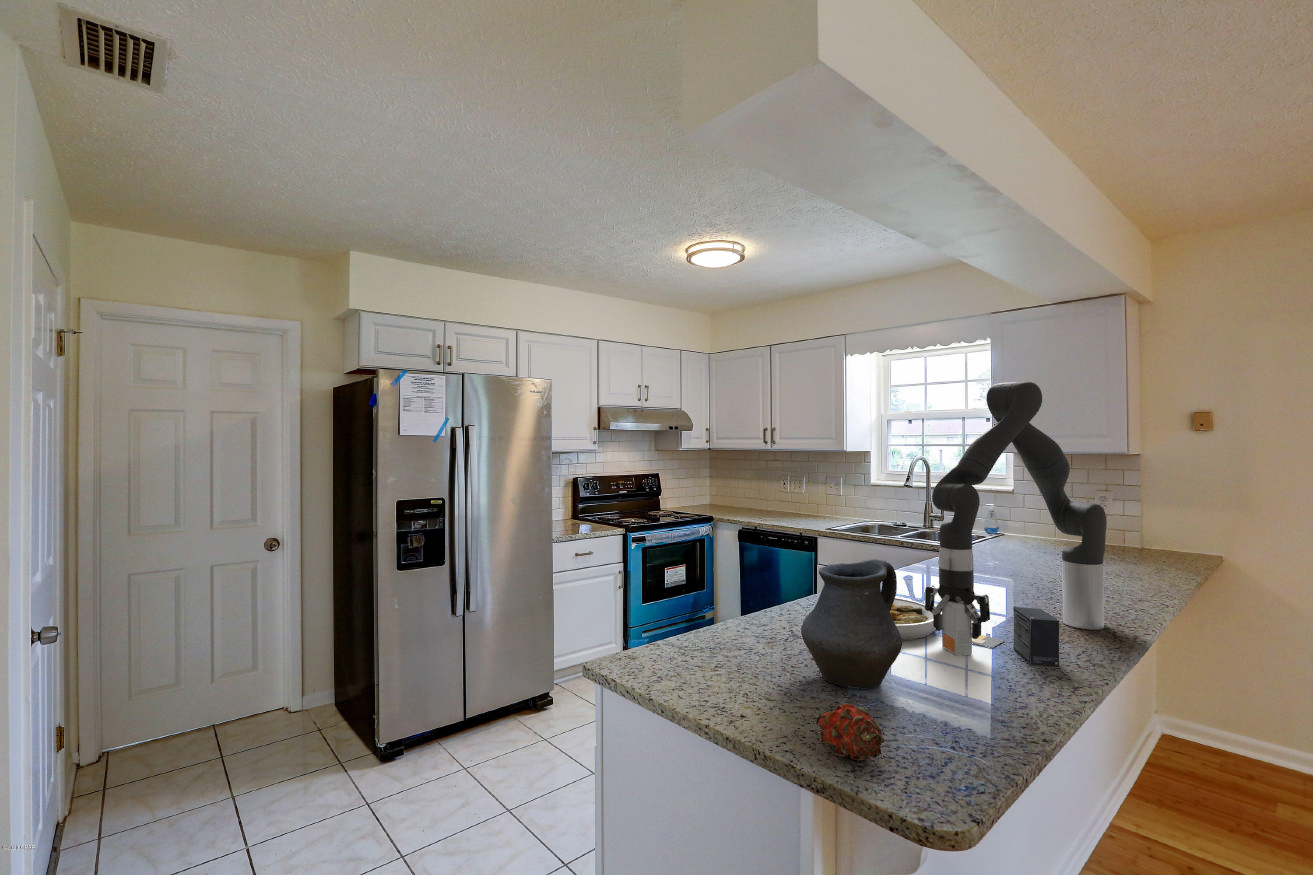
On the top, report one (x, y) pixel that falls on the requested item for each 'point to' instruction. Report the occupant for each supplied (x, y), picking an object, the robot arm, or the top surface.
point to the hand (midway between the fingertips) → (956, 633)
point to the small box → (1036, 636)
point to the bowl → (911, 619)
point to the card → (987, 641)
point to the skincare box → (956, 629)
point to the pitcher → (854, 624)
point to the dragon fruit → (851, 732)
